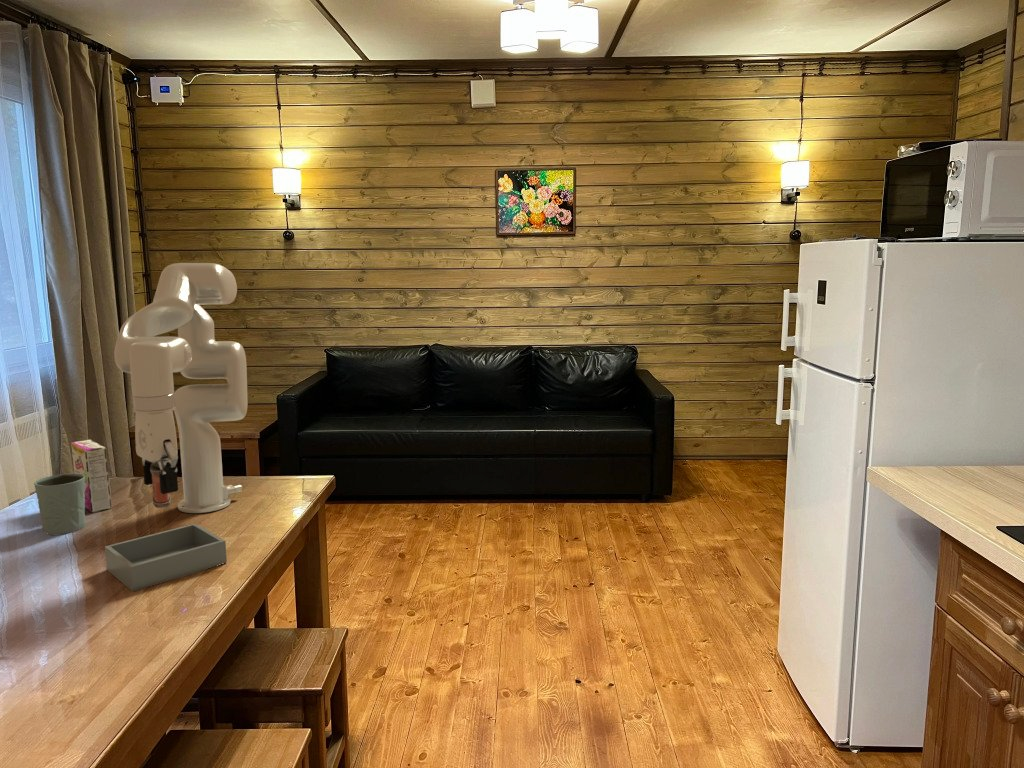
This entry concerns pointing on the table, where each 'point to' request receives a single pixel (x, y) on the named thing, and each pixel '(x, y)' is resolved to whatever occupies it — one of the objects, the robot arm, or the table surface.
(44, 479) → the green plant pot
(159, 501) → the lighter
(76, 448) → the candy bar box
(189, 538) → the bin
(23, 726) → the table surface
